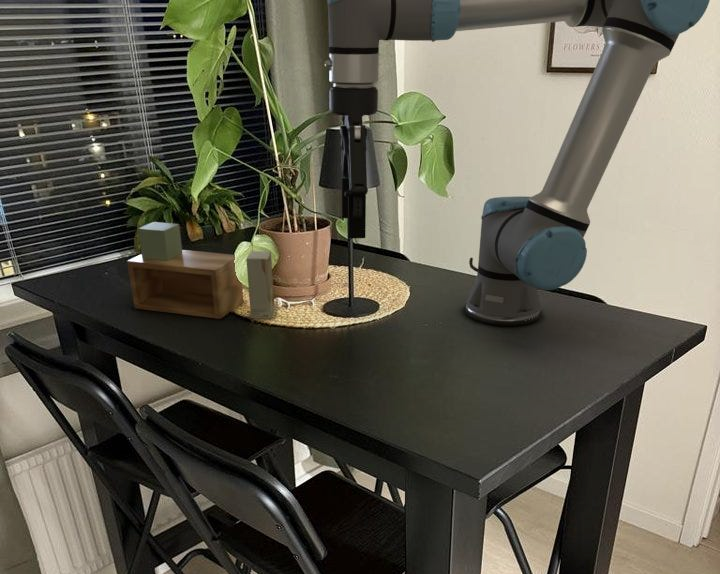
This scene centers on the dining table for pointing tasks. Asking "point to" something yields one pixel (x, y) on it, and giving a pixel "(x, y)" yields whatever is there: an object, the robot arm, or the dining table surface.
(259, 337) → the dining table surface
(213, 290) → the shelf
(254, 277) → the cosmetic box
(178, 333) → the dining table surface
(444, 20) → the robot arm
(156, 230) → the sage box
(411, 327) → the dining table surface
